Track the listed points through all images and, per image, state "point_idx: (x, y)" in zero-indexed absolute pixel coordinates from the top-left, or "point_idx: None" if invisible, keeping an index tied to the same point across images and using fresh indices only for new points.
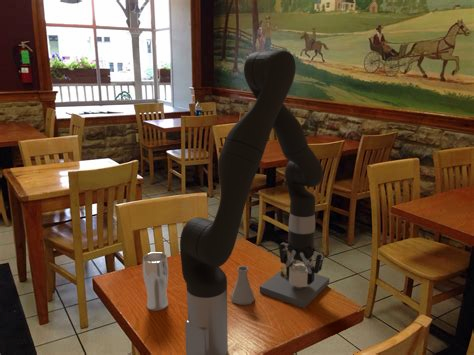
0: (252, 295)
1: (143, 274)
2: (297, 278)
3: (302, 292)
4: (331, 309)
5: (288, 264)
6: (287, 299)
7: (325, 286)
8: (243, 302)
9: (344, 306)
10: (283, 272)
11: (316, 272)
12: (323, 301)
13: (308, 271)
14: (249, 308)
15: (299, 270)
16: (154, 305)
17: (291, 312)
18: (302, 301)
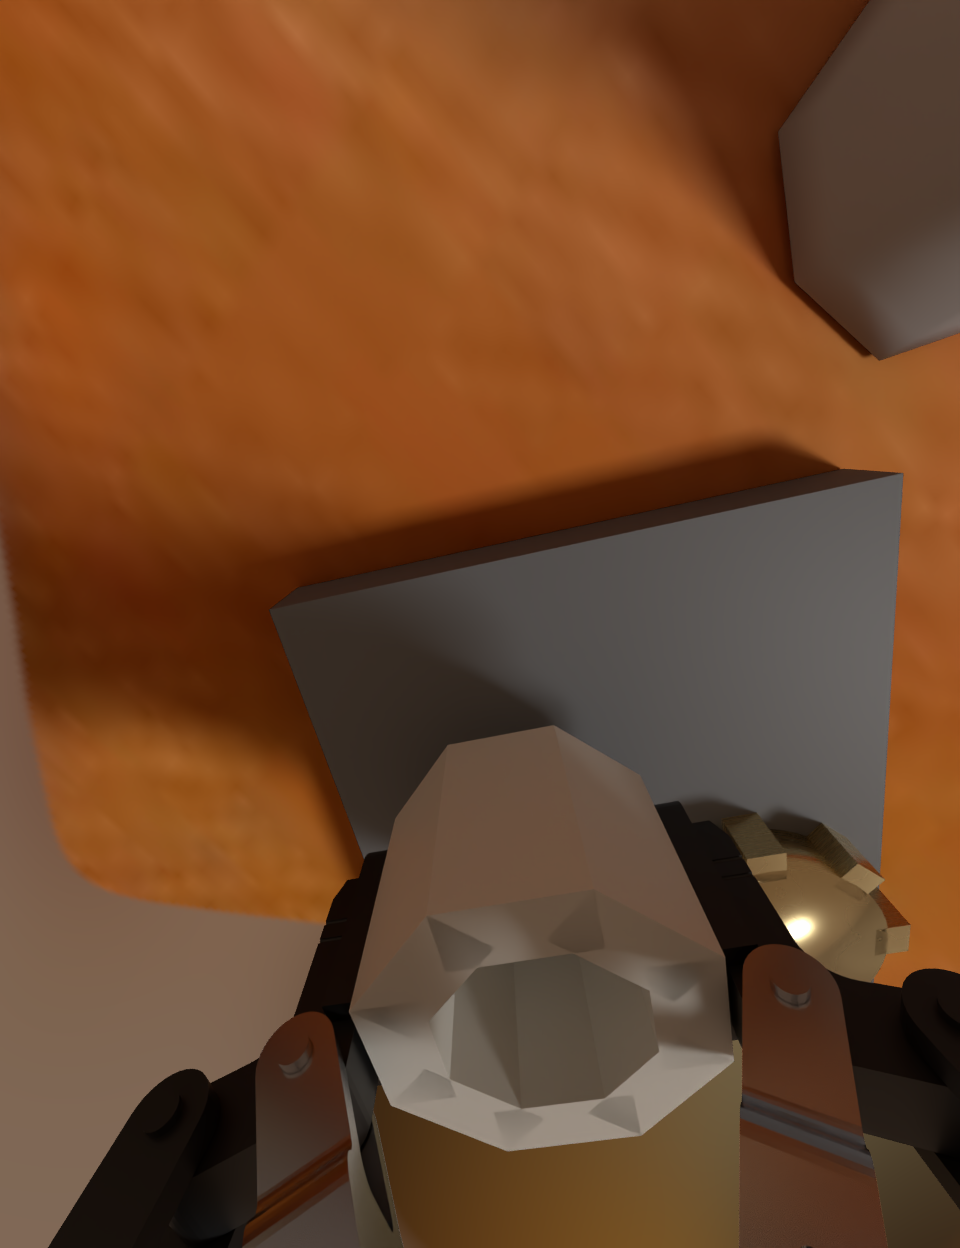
0: (861, 214)
1: None
2: (464, 823)
3: (426, 738)
4: (154, 750)
5: (773, 1006)
6: (482, 554)
7: None
8: (878, 13)
9: (135, 848)
10: (816, 867)
11: (156, 1103)
12: (285, 793)
13: (327, 1047)
14: (729, 53)
15: (597, 987)
16: None
17: (323, 435)
18: (295, 607)
